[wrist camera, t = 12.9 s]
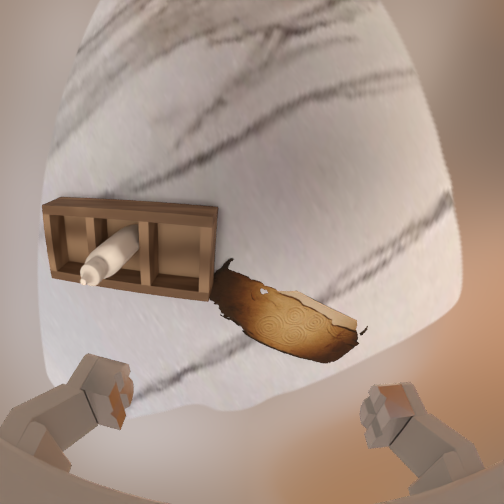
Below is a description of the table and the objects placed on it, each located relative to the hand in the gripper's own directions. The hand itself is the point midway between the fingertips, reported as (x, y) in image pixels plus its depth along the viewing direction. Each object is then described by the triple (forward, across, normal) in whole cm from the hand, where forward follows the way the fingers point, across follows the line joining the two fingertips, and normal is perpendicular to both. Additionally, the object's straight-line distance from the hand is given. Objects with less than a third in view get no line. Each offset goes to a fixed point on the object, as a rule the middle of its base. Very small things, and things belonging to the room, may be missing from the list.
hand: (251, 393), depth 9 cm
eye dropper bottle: (+28, +16, +7) cm, 32 cm away
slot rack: (+28, +16, +7) cm, 33 cm away
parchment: (+29, -6, +17) cm, 34 cm away
